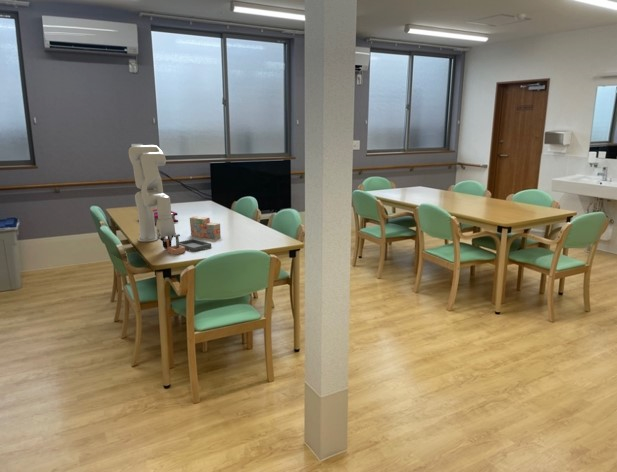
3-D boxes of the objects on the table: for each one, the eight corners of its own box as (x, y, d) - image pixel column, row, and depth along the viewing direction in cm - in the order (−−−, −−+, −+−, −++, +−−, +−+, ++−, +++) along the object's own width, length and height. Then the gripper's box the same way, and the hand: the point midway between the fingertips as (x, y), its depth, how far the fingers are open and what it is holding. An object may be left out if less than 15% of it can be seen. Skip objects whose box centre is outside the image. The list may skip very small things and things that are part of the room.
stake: (175, 253, 269) (173, 235, 266) (180, 252, 271) (178, 234, 269) (176, 254, 268) (175, 235, 265) (181, 252, 270) (180, 234, 268)
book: (151, 226, 342) (150, 216, 340) (138, 220, 364) (137, 210, 362) (178, 222, 355) (178, 212, 353) (165, 216, 376) (164, 207, 374)
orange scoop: (160, 249, 276) (159, 239, 274) (171, 247, 281) (170, 237, 279) (174, 254, 266) (173, 244, 265) (185, 252, 271) (184, 242, 270)
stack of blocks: (221, 237, 307) (220, 218, 304) (214, 239, 301) (213, 220, 298) (197, 233, 318) (196, 215, 315) (190, 235, 312) (189, 217, 310)
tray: (176, 246, 284) (175, 242, 284) (193, 242, 293) (193, 238, 293) (194, 251, 272) (193, 247, 272) (211, 247, 282) (211, 243, 281)
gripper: (173, 213, 280) (175, 243, 285) (149, 218, 269) (151, 248, 273) (180, 215, 275) (182, 245, 280) (156, 220, 264) (158, 251, 268)
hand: (167, 247), depth 277 cm, fingers closed on orange scoop
